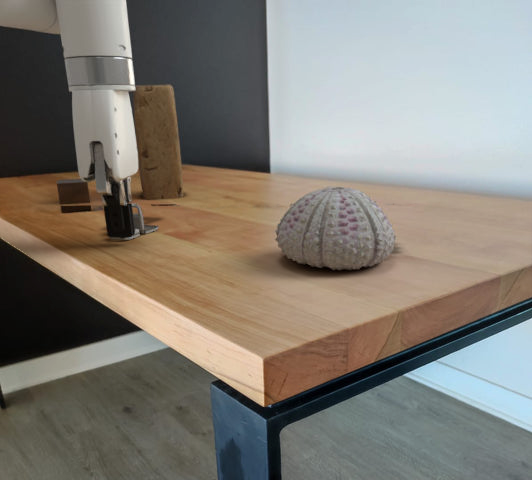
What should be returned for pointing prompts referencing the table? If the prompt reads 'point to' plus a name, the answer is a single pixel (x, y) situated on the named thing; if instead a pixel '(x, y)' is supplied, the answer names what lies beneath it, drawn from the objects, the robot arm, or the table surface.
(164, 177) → the block
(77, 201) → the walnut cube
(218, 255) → the table surface
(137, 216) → the strap clip
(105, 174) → the robot arm
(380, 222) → the sea urchin shell
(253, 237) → the table surface
